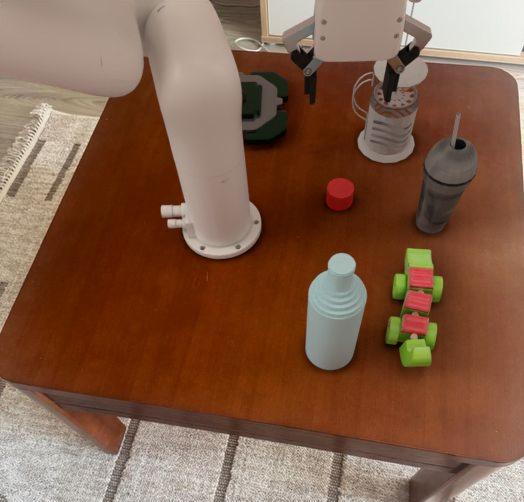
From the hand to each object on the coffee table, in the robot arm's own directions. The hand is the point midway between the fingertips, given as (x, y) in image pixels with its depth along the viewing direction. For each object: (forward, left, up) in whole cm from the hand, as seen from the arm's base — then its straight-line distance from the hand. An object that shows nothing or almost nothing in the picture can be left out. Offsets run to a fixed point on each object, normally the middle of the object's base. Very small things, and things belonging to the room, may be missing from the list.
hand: (348, 96), depth 68 cm
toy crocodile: (+9, -22, -20) cm, 31 cm away
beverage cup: (+14, -5, -20) cm, 25 cm away
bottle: (-3, -27, -20) cm, 33 cm away
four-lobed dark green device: (-17, +21, -20) cm, 33 cm away
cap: (0, 0, -20) cm, 20 cm away
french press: (+8, +13, -20) cm, 25 cm away
